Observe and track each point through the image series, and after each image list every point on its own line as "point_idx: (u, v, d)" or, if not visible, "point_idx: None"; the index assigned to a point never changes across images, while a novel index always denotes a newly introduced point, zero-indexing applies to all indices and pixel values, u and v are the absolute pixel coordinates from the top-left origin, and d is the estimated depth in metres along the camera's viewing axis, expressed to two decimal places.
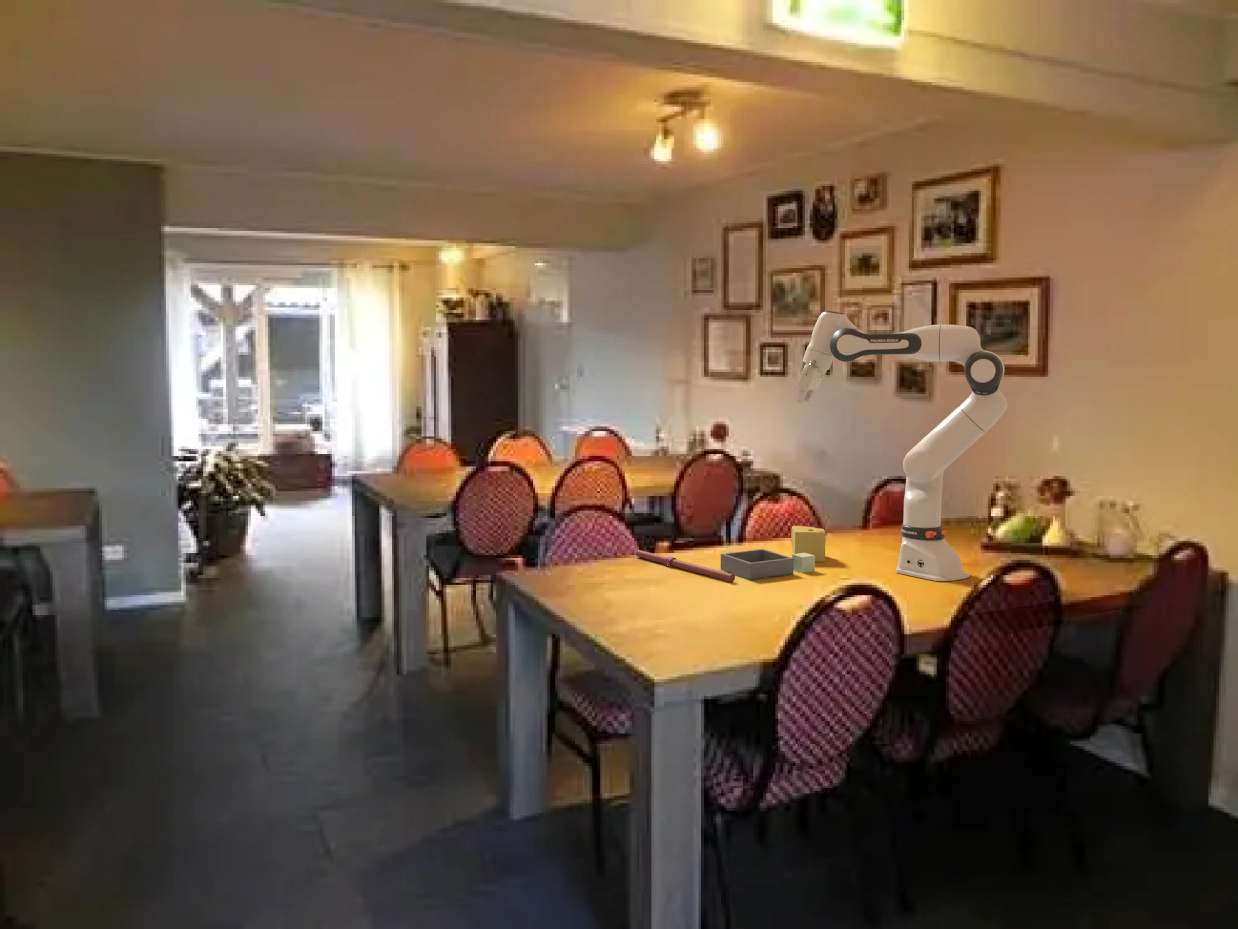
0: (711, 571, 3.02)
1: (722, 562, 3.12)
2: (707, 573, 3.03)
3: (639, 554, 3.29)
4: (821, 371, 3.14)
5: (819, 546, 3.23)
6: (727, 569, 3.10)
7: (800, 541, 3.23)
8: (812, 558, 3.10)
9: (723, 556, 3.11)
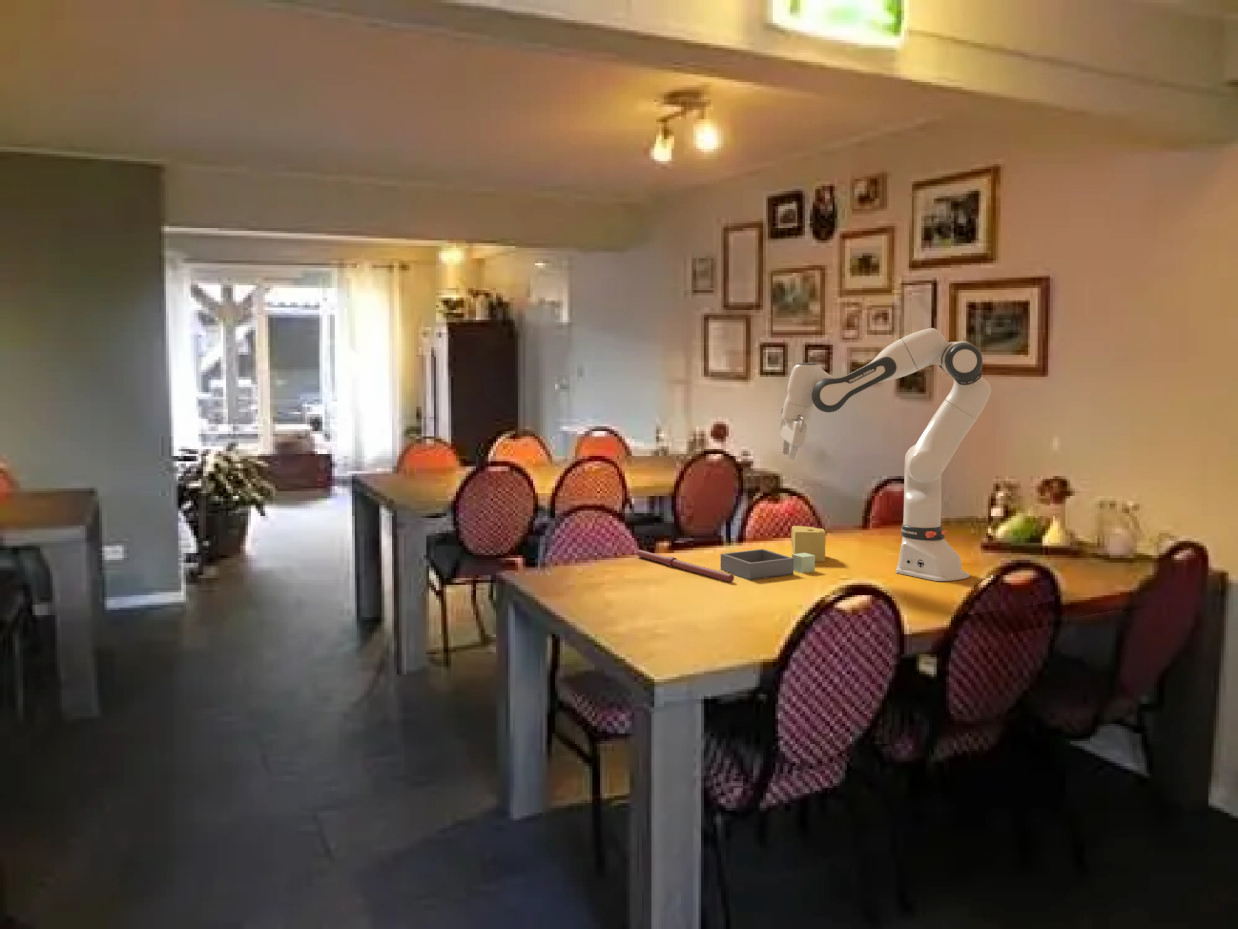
0: (710, 571, 3.02)
1: (722, 562, 3.12)
2: (706, 573, 3.03)
3: (640, 554, 3.29)
4: None
5: (819, 546, 3.23)
6: (727, 569, 3.10)
7: (800, 541, 3.23)
8: (812, 558, 3.10)
9: (723, 556, 3.11)
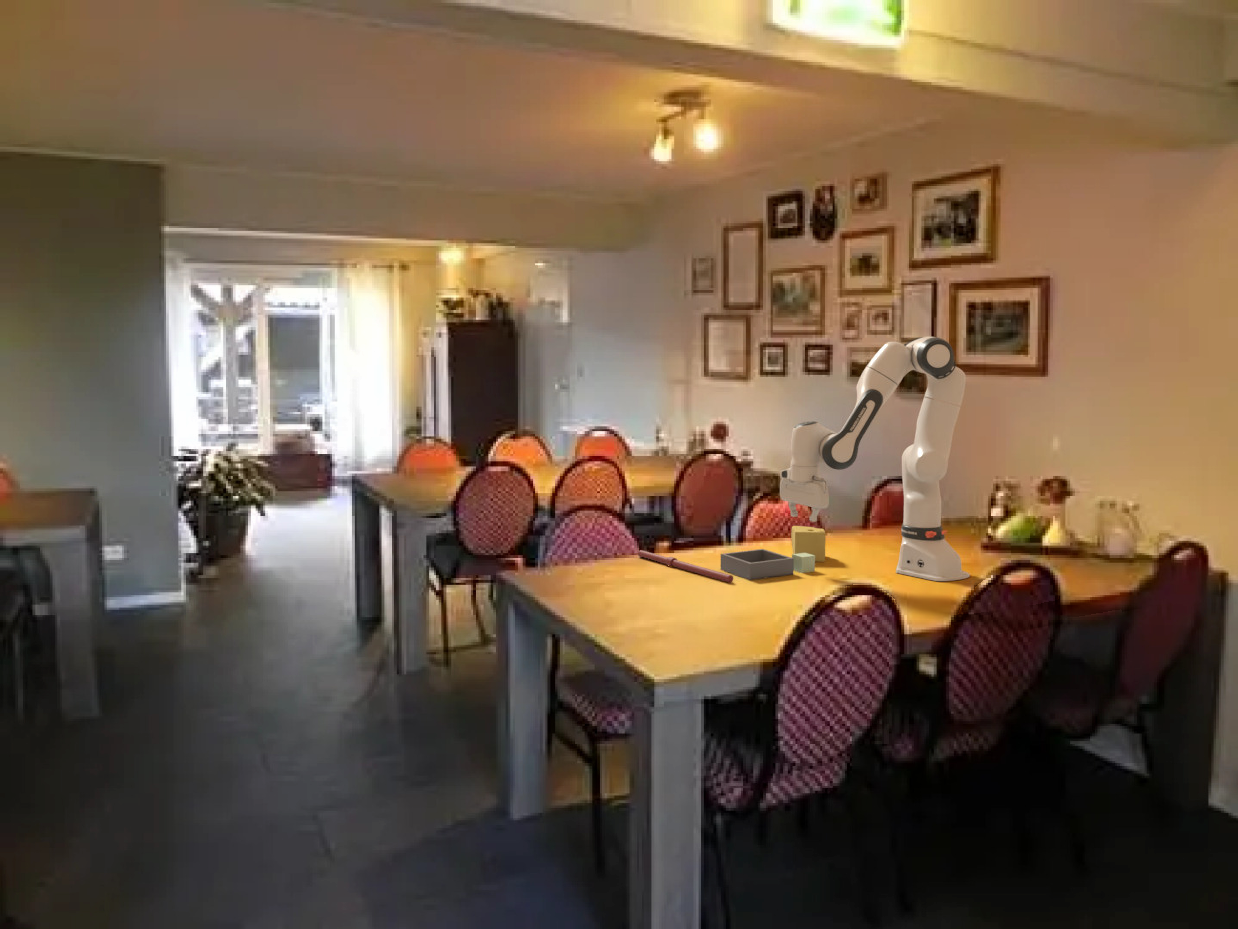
0: (710, 572, 3.02)
1: (722, 562, 3.12)
2: (706, 574, 3.03)
3: (641, 554, 3.30)
4: None
5: (819, 546, 3.23)
6: (727, 569, 3.10)
7: (800, 541, 3.23)
8: (812, 558, 3.10)
9: (723, 556, 3.11)
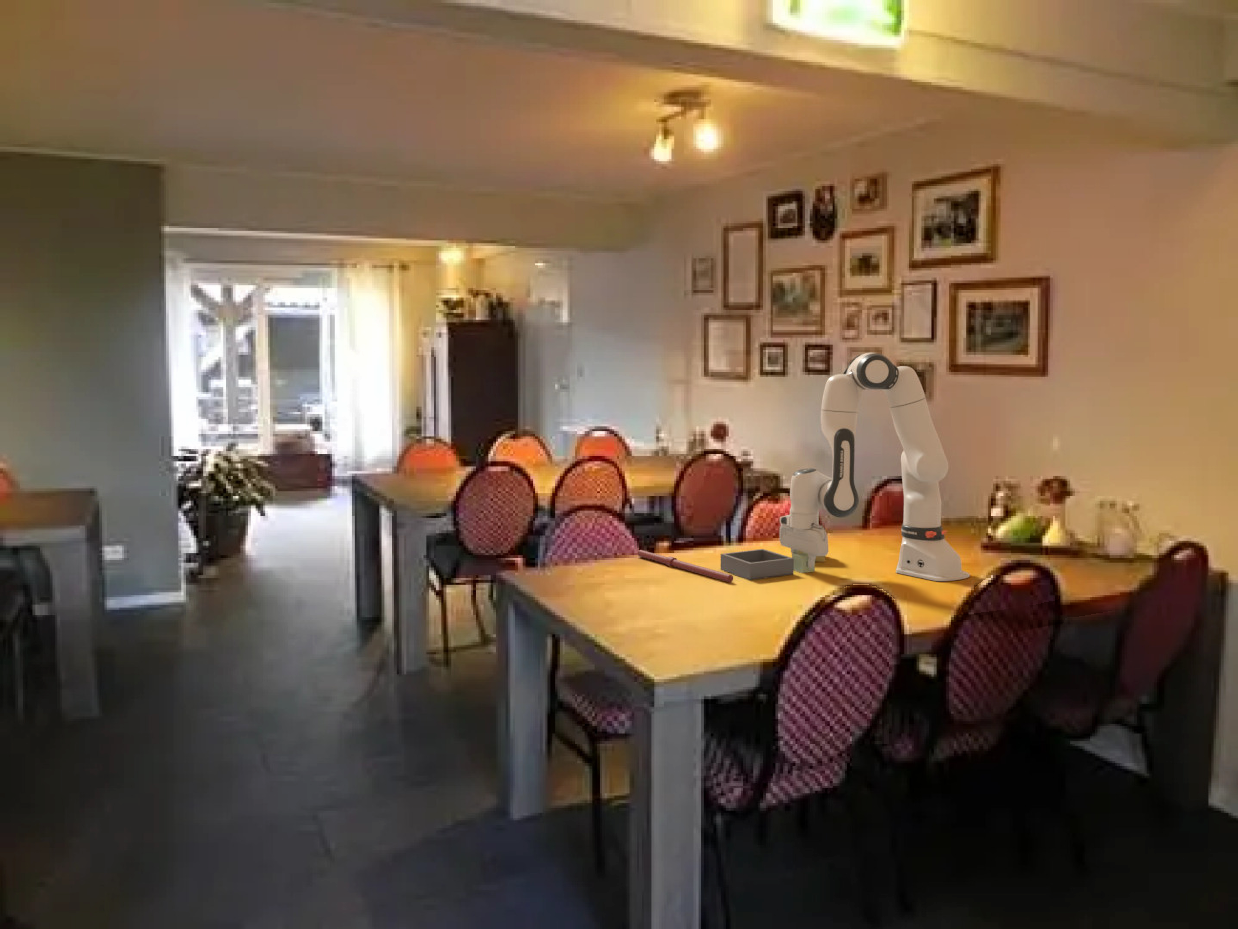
0: (710, 571, 3.01)
1: (722, 562, 3.12)
2: (706, 573, 3.03)
3: (641, 554, 3.30)
4: None
5: None
6: (727, 569, 3.10)
7: None
8: None
9: (723, 556, 3.11)
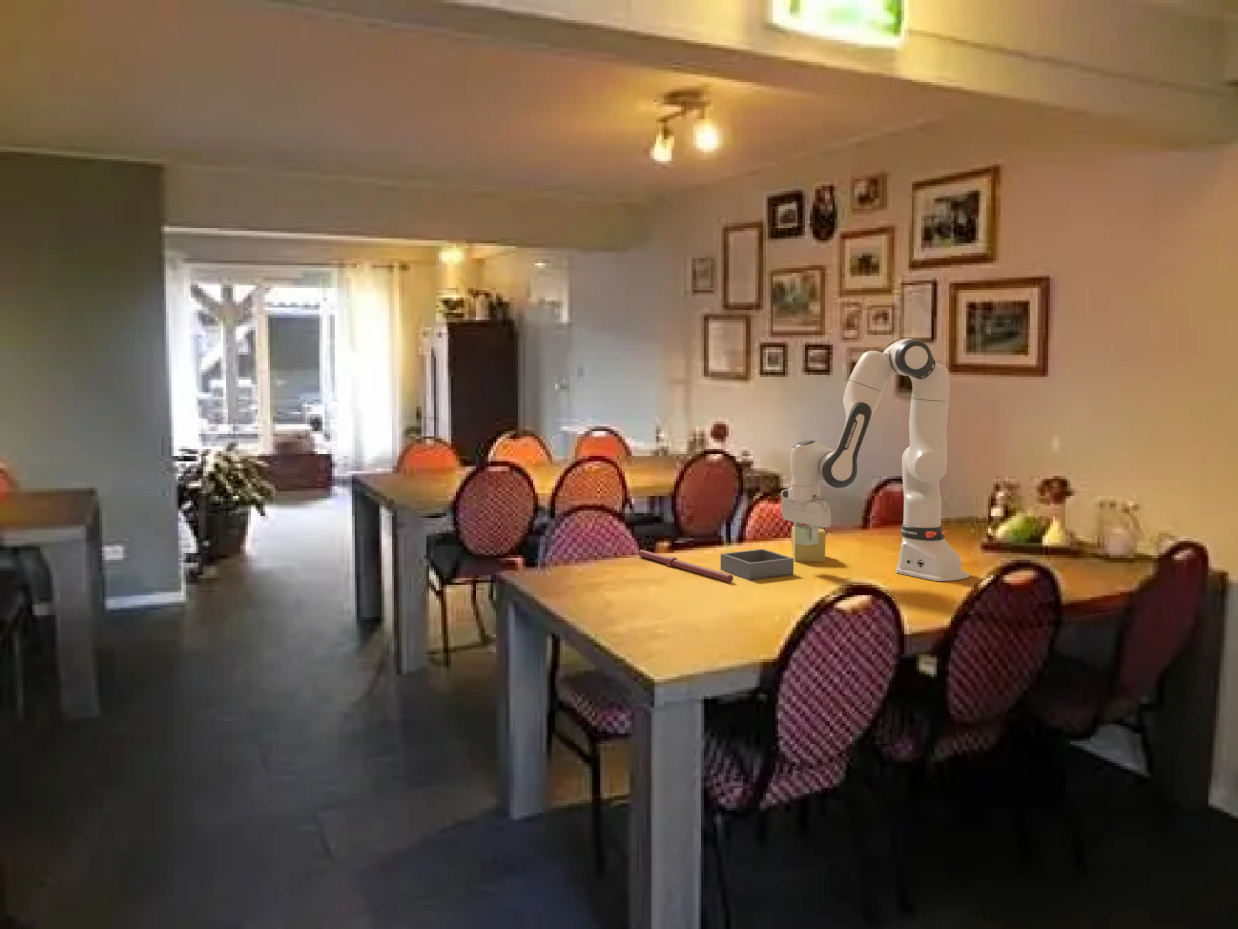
0: (710, 571, 3.02)
1: (722, 562, 3.12)
2: (706, 573, 3.03)
3: (641, 554, 3.30)
4: None
5: (819, 546, 3.23)
6: (727, 569, 3.10)
7: None
8: None
9: (723, 556, 3.11)
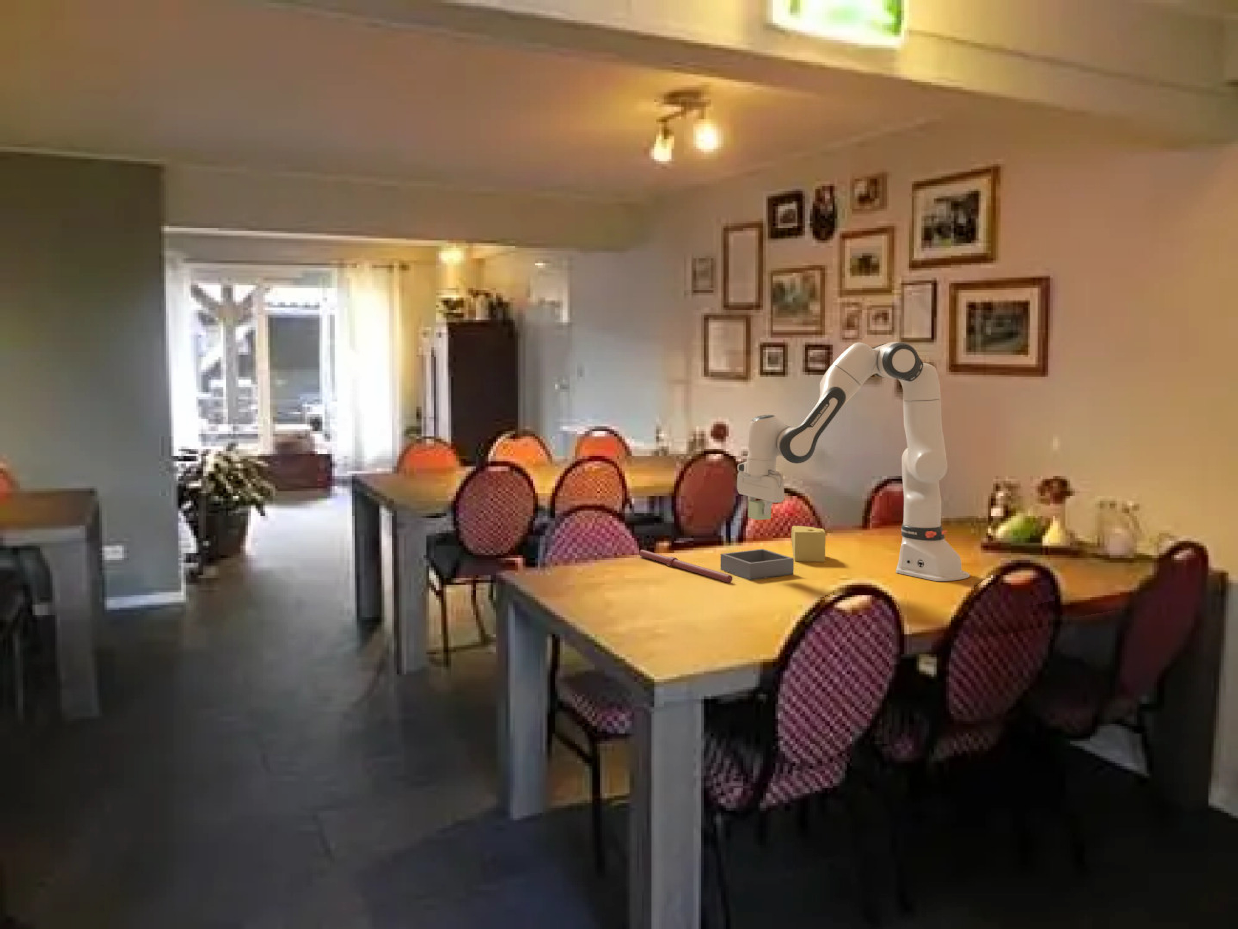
0: (709, 572, 3.01)
1: (722, 562, 3.12)
2: (705, 574, 3.03)
3: (642, 554, 3.30)
4: None
5: (819, 546, 3.23)
6: (727, 569, 3.10)
7: (800, 541, 3.23)
8: None
9: (723, 556, 3.11)
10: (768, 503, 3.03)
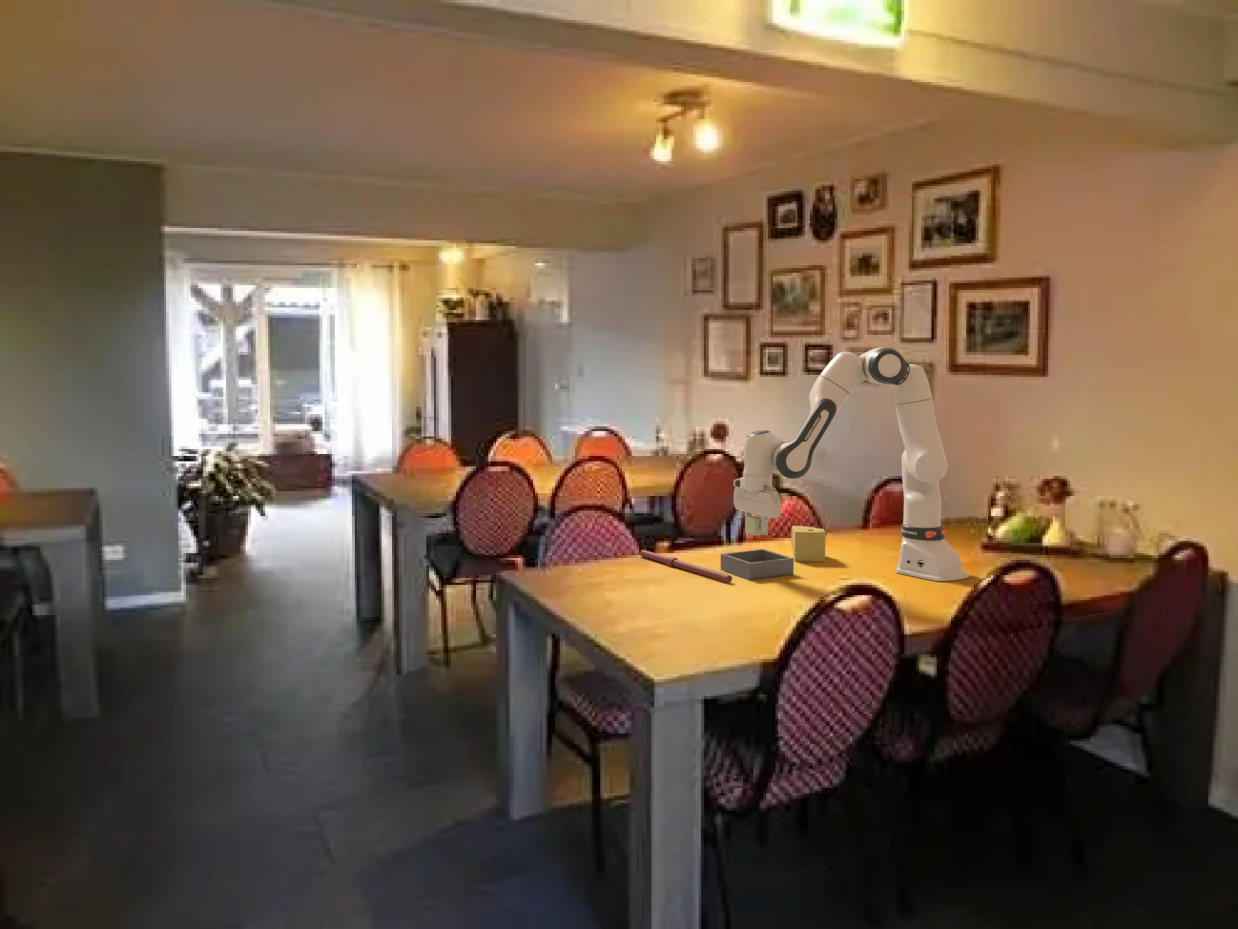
0: (709, 572, 3.01)
1: (722, 562, 3.12)
2: (705, 574, 3.03)
3: (643, 554, 3.30)
4: None
5: (819, 546, 3.23)
6: (727, 569, 3.10)
7: (800, 541, 3.23)
8: None
9: (723, 556, 3.11)
10: (765, 519, 3.03)
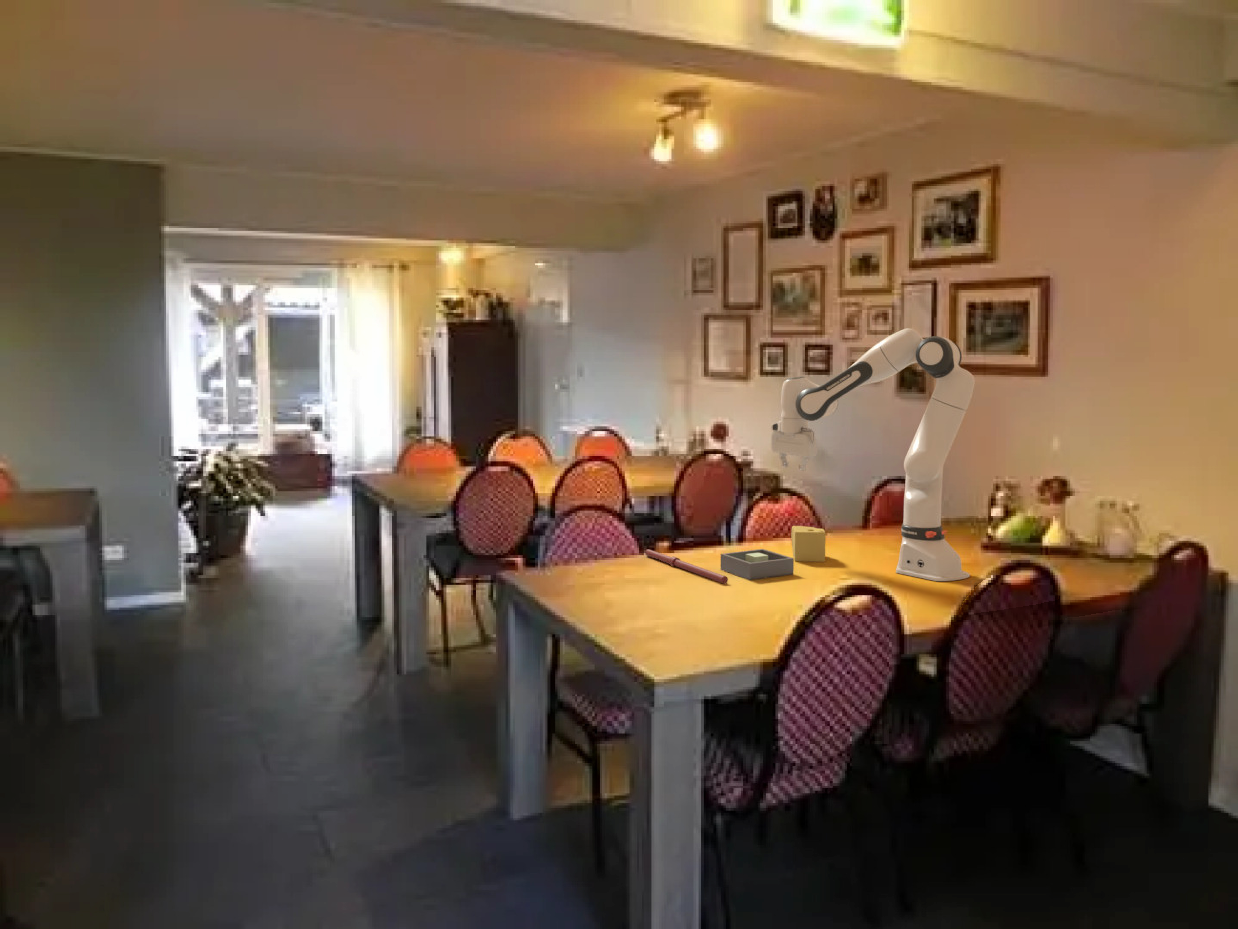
0: (706, 572, 3.01)
1: (722, 562, 3.12)
2: (703, 574, 3.02)
3: (648, 553, 3.31)
4: None
5: (819, 546, 3.23)
6: (727, 569, 3.10)
7: (800, 541, 3.23)
8: (765, 558, 3.08)
9: (723, 556, 3.11)
10: (804, 459, 3.23)
